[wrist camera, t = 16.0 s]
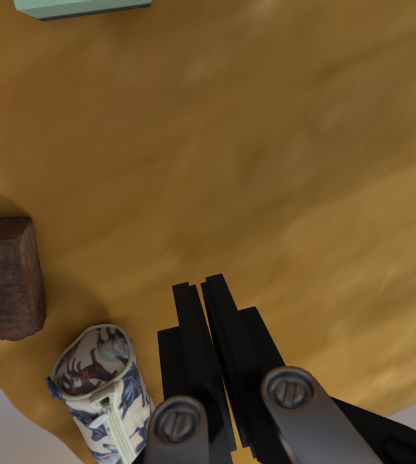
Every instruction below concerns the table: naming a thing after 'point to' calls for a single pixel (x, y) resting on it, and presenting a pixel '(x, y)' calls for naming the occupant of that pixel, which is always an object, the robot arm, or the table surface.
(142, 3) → the lunchbox
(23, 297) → the brick
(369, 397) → the table surface
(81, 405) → the pencil case
